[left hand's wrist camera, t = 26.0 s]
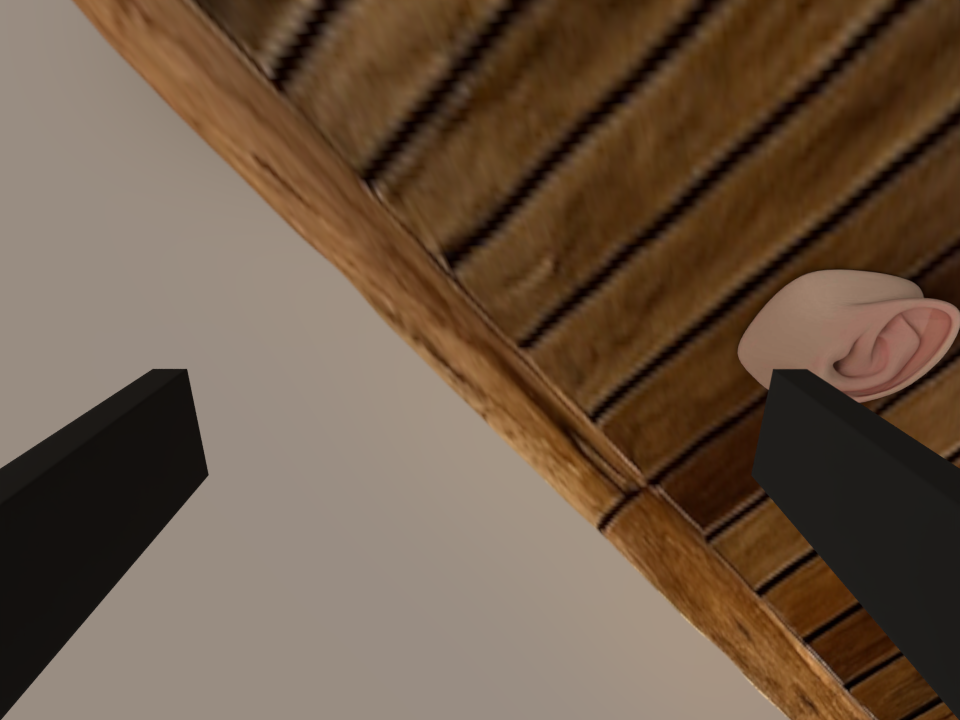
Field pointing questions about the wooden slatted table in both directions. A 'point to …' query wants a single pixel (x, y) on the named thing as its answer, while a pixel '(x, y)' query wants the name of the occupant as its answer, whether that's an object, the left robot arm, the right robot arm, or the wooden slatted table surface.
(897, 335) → the anatomical model
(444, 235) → the wooden slatted table surface
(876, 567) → the left robot arm
